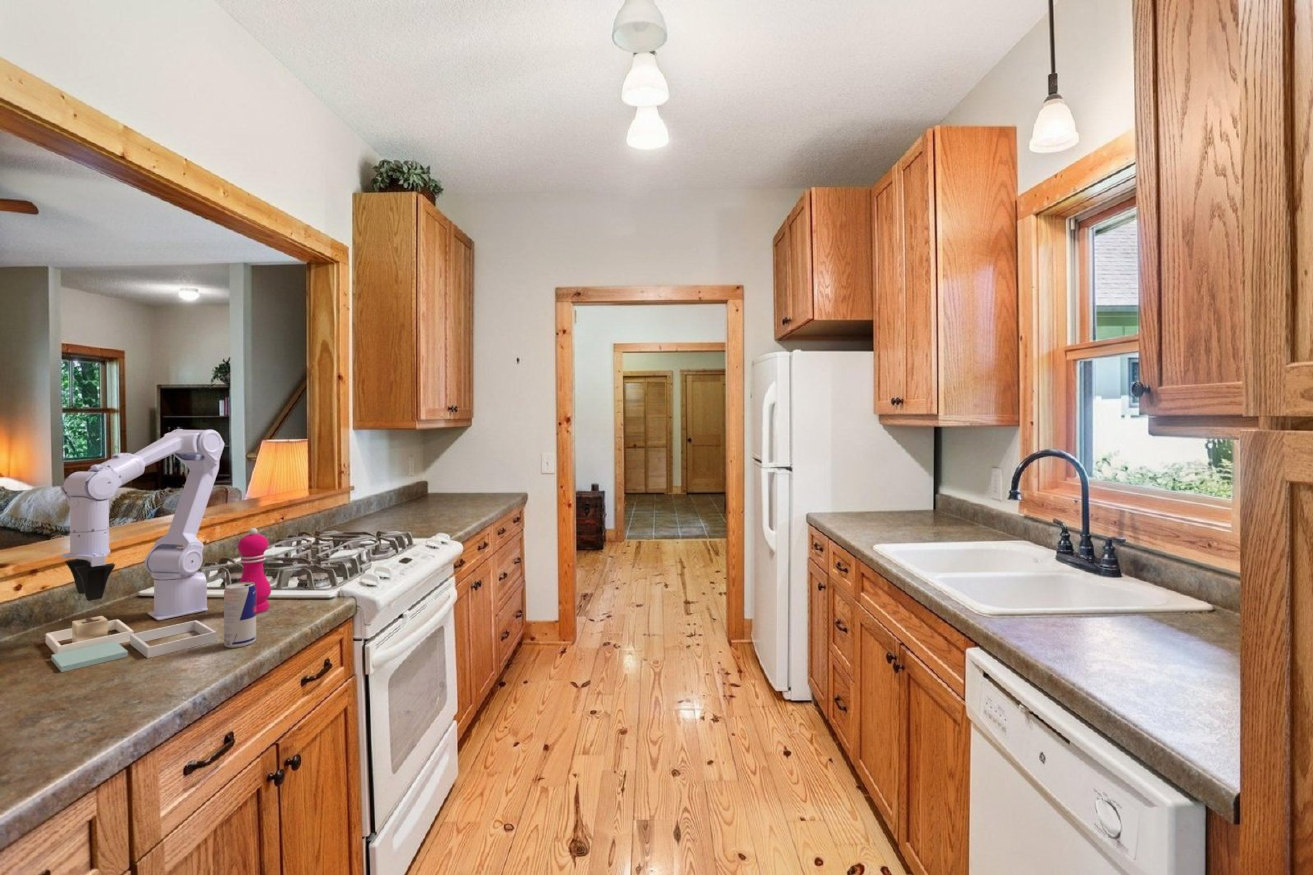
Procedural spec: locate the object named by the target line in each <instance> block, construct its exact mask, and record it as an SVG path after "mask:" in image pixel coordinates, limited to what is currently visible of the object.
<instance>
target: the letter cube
mask: <svg viewBox="0 0 1313 875" xmlns="http://www.w3.org/2000/svg"><path fill="white" fill-rule="evenodd" d="M108 621H109V619H107V618H106V617H104V615H97V616H94V617H88V618H83V619H82V618H81V619H77V620H73V621H72V620H71V628H72V639H71V643H75V642H80V641H85V640H89V639H94V638H99V637H104V636H109V635H108V634H109V633H108V632H109V631H108Z"/></svg>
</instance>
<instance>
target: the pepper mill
mask: <svg viewBox="0 0 1313 875" xmlns="http://www.w3.org/2000/svg"><path fill="white" fill-rule="evenodd" d="M268 541H269V540H268V539H267V538H266V536H265V535H262V534H259V532H258V529H257V528H255V527H254V528H253V527H252V528H250V529H249V530H248V535H245V536H243V537H242V538H240V540H239V541H238V544H237V551H239V553H240V554H241V555H240V561H239V562H240V563H242V575H241V577H240V580H239V581H238V583H241V582H253V583H255V586H256V614H259V613H260V614H261V613H263V612H266V611H268V610H269V606H270V605H269V604H270V602H269V600H267V599H268V598H270V595H271V594H272V590H271V589H272V588H271V584H270V582H269V580H268V578H267V576H266V575H265V570H264V561H265V560H266V559H267V558H266V553H265V552H266V551H267V549H268V547H269V542H268Z"/></svg>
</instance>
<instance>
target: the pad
mask: <svg viewBox="0 0 1313 875" xmlns="http://www.w3.org/2000/svg"><path fill="white" fill-rule="evenodd" d="M127 657H129V650H127V649H126V648H124V647H123V646H122V645H121V643H120V644H118V643H117V642H116V641H113V642H109V643H104V644H99V645H95V646H90V647H86V648H81V649H76V650H72V651H67V652H62V653H58V654H55V653H53V654H51V662H53V664H54V665H55V667H56V668H57V669H58V670H59V671H60V672H61V673H65V672H67V671H72V670H77V669H81V668H82V669H83V668H85V667H90V666H94V665H98V664H102V663H103V664H104V663H107V662H111V661H115V660H119V659H123V658H127Z"/></svg>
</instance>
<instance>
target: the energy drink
mask: <svg viewBox="0 0 1313 875" xmlns="http://www.w3.org/2000/svg"><path fill="white" fill-rule="evenodd" d="M256 640H257V613H256V586H255V583H253V582H241V583H239V582H235V583H230V584H228V585H225V588H224V591H223V645H224V646H225V648H230V649H235V648H242V647H246V646H250V645H252V644H254V643H255V641H256Z"/></svg>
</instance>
